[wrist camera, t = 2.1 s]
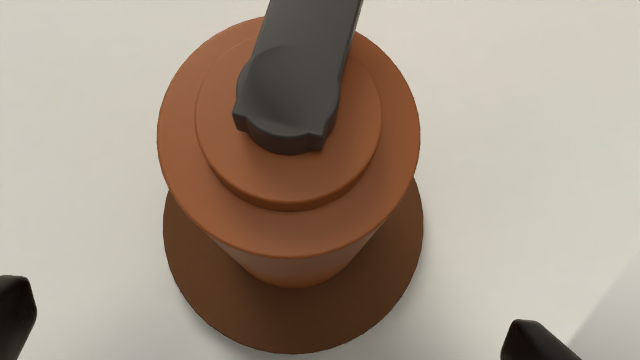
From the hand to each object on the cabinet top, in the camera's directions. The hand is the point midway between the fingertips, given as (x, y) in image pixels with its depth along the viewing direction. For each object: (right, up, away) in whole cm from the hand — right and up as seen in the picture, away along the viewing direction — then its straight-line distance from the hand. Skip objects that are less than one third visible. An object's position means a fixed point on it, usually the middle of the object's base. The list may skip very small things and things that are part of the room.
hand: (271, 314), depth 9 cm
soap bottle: (0, +1, +11) cm, 11 cm away
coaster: (0, +1, +12) cm, 12 cm away
